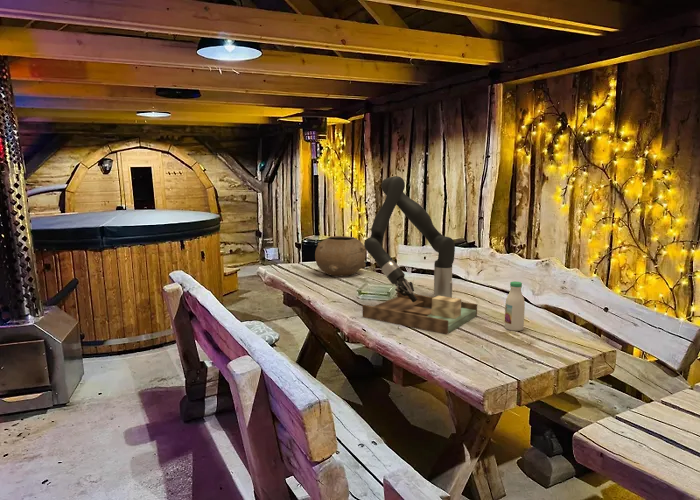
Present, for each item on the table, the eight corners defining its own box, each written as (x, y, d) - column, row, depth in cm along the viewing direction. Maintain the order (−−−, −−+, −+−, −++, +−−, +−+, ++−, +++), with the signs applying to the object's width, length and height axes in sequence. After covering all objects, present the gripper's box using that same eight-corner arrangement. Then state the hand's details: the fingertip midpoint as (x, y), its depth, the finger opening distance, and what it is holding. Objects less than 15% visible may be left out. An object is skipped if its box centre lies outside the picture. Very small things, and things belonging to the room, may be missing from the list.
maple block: (431, 314, 210) (431, 298, 209) (438, 311, 215) (438, 295, 214) (454, 319, 204) (455, 302, 203) (460, 315, 209) (461, 299, 208)
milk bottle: (523, 326, 203) (525, 281, 200) (523, 332, 195) (526, 284, 192) (504, 324, 205) (506, 279, 202) (504, 330, 198) (506, 283, 195)
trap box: (362, 316, 218) (362, 305, 217) (398, 302, 244) (398, 291, 243) (446, 334, 193) (447, 321, 192) (476, 315, 219) (477, 304, 218)
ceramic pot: (308, 272, 323) (307, 236, 319) (352, 268, 337) (352, 233, 333) (326, 281, 293) (326, 241, 289) (374, 276, 307) (374, 238, 303)
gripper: (390, 269, 217) (413, 299, 211) (404, 265, 227) (427, 293, 222) (380, 279, 221) (403, 308, 215) (395, 274, 231) (417, 302, 226)
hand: (415, 301), depth 219 cm, fingers closed
